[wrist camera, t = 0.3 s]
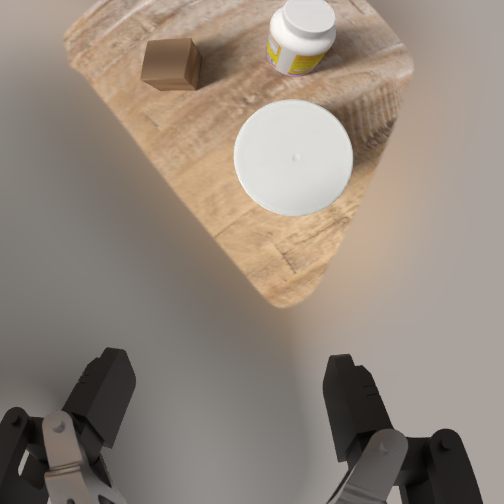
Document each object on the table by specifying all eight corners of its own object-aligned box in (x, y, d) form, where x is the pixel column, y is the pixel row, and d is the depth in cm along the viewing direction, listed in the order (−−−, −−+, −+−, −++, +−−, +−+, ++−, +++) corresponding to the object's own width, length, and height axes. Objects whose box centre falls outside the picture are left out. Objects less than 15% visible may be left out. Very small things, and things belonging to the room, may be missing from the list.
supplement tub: (311, 115, 31) (350, 94, 17) (320, 186, 34) (362, 211, 20) (235, 123, 31) (223, 104, 18) (246, 195, 35) (242, 226, 21)
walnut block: (165, 57, 27) (147, 41, 21) (202, 57, 28) (190, 38, 21) (160, 90, 29) (140, 79, 23) (196, 90, 29) (183, 77, 23)
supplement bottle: (325, 52, 27) (358, 13, 15) (300, 86, 29) (326, 55, 17) (282, 27, 26) (296, -22, 14) (256, 60, 28) (257, 17, 16)
